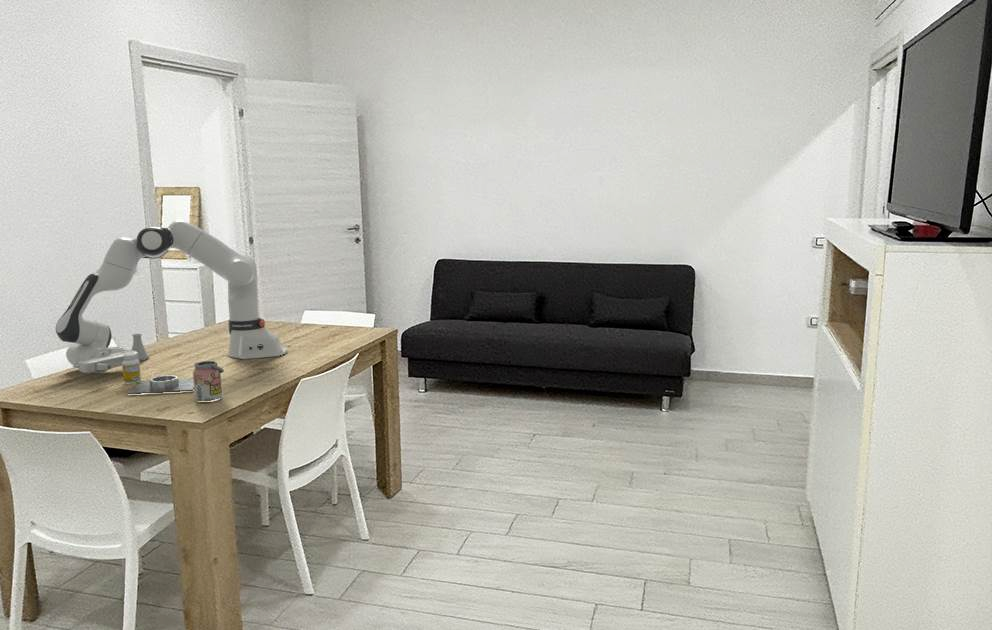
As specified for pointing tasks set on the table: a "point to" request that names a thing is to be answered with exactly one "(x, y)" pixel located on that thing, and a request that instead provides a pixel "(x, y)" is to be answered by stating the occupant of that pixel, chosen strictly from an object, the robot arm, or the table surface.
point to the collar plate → (163, 385)
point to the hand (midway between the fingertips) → (121, 364)
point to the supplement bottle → (131, 368)
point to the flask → (139, 347)
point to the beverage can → (207, 381)
